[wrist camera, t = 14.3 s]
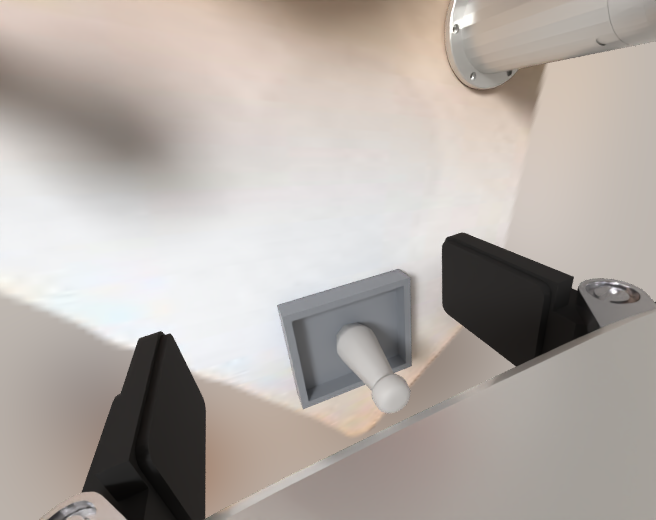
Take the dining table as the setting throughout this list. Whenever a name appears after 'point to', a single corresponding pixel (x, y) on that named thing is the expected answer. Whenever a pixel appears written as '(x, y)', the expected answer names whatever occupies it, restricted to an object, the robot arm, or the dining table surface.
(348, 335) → the salt shaker
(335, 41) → the dining table surface
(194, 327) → the dining table surface
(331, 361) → the tray
